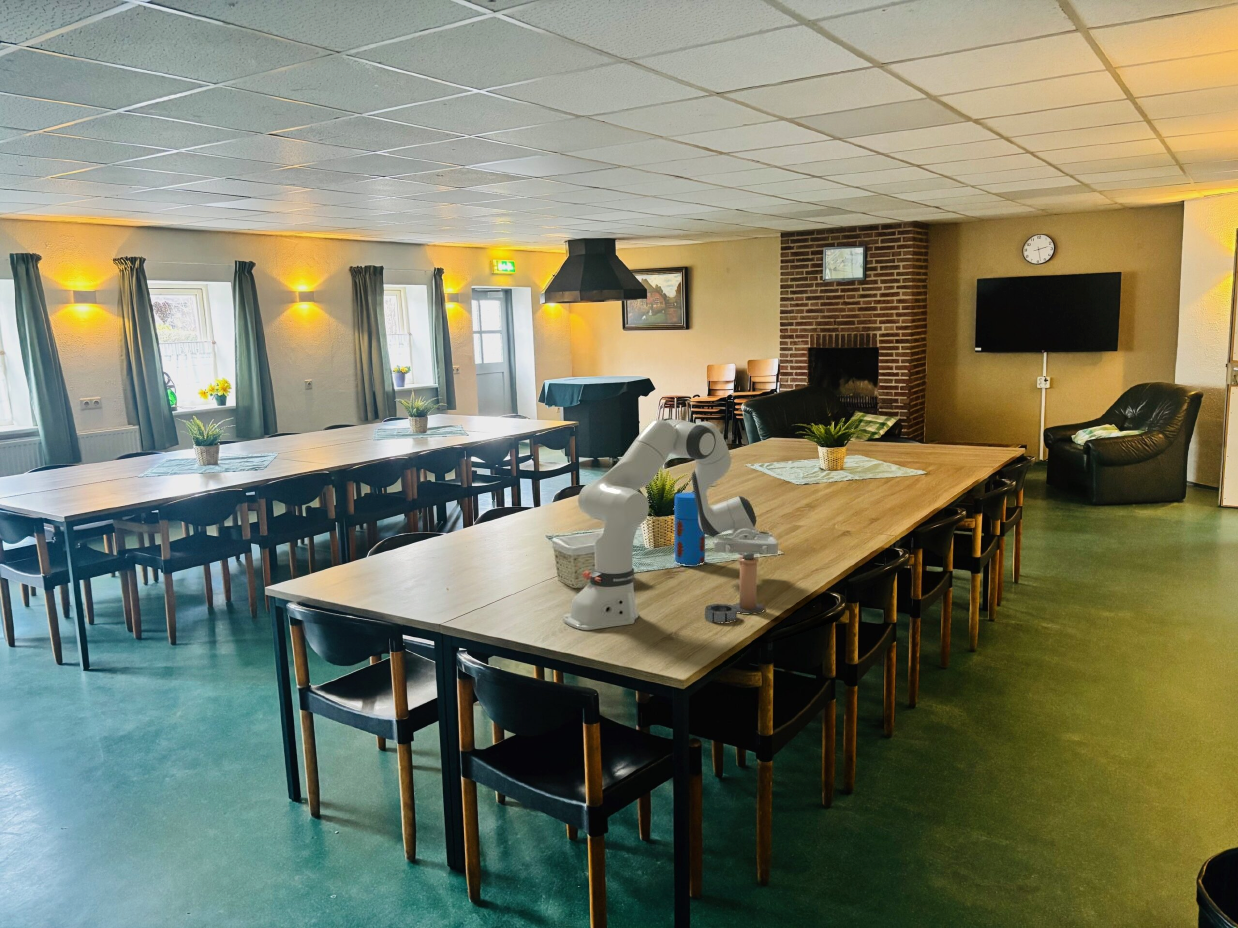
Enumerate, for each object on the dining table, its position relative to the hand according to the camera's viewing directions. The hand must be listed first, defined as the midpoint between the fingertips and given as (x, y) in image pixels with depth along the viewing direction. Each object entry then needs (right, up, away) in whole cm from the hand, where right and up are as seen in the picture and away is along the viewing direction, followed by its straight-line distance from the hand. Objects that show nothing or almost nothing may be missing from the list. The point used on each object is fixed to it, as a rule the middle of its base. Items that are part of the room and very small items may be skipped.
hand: (746, 551), depth 273 cm
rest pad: (-1, -16, -10) cm, 19 cm away
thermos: (-14, -9, +45) cm, 48 cm away
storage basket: (-48, -12, +25) cm, 56 cm away
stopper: (-1, -16, -10) cm, 19 cm away
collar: (-10, -18, -18) cm, 27 cm away
